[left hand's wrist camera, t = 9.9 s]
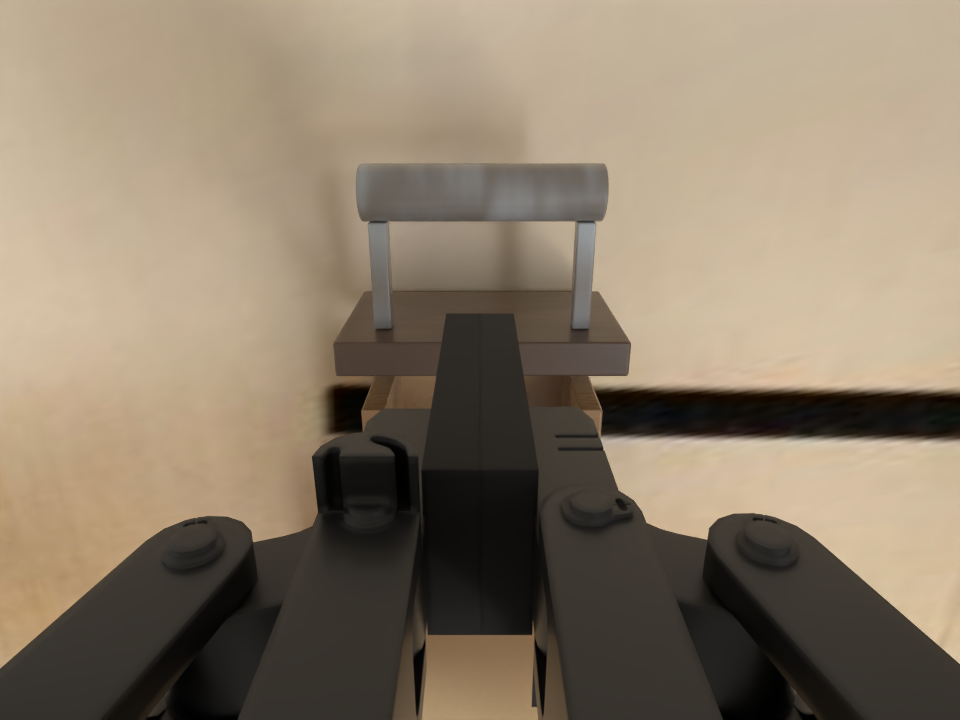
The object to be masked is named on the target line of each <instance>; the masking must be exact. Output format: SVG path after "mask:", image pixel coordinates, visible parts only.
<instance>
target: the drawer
mask: <svg viewBox="0 0 960 720" xmlns="http://www.w3.org/2000/svg"><path fill="white" fill-rule="evenodd" d="M356 198H357V207H358V212H359V216H360V218H361V220H362V221H370V222H369V223H368V231H369V247H370V262H371V278H372V292H364V294H363V295H362V297H361V299H360V300H359V302H358V304H357V305H356V307H355V309H354V310H353V312H352V314H351V315H350V317H349V318H348V320H347V322H346V323H345V325H344V327H343V328H342V330H341V332H340V333H339V335H338V337H337V338H336V340H335V342H334V344H333V347H334V358H335V369H336V375H337V376H375V377H374V379H373V382H372V385H371V387H370V390H369V393H368V395H367V398H366V400H365V403H364V406H363V408H362V411H361V412H362V425H363V431H364V428H365V426H366V423H367V421H368V420H370V419H371V418H372V417H373V416H375V415H376V414H377V413H378V412H379V411H381V410H382V409H431V406H432V400H433V393H434V387H435V381H436V374H437V368H438V362H439V356H440V349H441V343H442V337H443V331H444V324H445V318H446V313H514V318H515V324H516V331H517V337H518V343H519V349H520V356H521V362H522V368H523V374H524V381H525V387H526V393H527V400H528V406H529V407H578V408H580V409H581V410H582V411H583V412H584V413H586V414H587V415H588V416H589V417H591V418H592V419H593V420H594V423H595V426H596V429H597V431H598V434H599V438H600V437H601V424H602V412H603V411H602V409H601V406H600V404H599V401H598V399H597V396H596V394H595V391H594V389H593V386H592V384H591V381H590V378H589V376H627V375H628V372H629V361H630V350H631V343H630V341H629V339H628V338H627V336H626V335H625V333H624V331H623V330H622V328H621V327H620V325H619V323H618V322H617V320H616V319H615V317H614V316H613V314H612V312H611V311H610V309H609V308H608V306H607V304H606V303H605V301H604V300H603V298H602V296H601V295H600V293H599V292H592V280H593V265H594V250H595V235H596V223H595V222H594V221H602V220H603V219H604V217H605V214H606V209H607V203H608V172H607V168H606V165H605V164H359V166H358V169H357V175H356ZM388 221H576V222H575V241H574V259H573V277H572V292H392V276H391V257H390V238H389V222H388Z"/></svg>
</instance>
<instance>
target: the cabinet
mask: <svg viewBox="0 0 960 720" xmlns="http://www.w3.org/2000/svg"><path fill="white" fill-rule="evenodd" d="M426 659H427V669H426V680H425V691H424V702H423V713H422V720H538V712H537V707H532V684H533V659H534V626H533V630H532V635H428V630H427V629H426Z"/></svg>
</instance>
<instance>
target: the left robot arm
mask: <svg viewBox="0 0 960 720" xmlns="http://www.w3.org/2000/svg"><path fill="white" fill-rule="evenodd" d="M312 461H313V470H314V479H315V488H316V497H317V506H318V514H317V517H316V519H315V522H314V524H313V526H312V527H310V528H307V529H305V530H303V531H301V532H297V533H294V534H290V535H287V536H283V537H278V538H273V539H268V540H263V541H259V542H254V543H253V540H252V533H251V530H250V529H249V528H248V527H247V526H246V525H245V524H244V523H243V522H241V521H238V520H235V519H232V518H229V517H218V516H206V517H198V518H193V519H189V520H185V521H183V522H180V523H178V524H175V525H173V526H170V527H168V528H165V529H163V530H162V531H160V532H159V533H157V534H156V535H154V536H153V537H151V538H150V539H148V540H147V541H146V542H144V543H143V544H142V545H141V546H140V547H139V548H138V549H136V550H135V551H134V552H133V553H132V554H131V555H130V556H128V557H127V558H126V559H125V560H124V561H123V562H122V563H120V564H119V565H118V566H117V567H116V568H115V569H114V570H112V571H111V572H110V573H109V574H108V575H107V576H106V577H104V578H103V579H102V580H101V581H100V582H99V583H98V584H97V585H95V586H94V587H93V588H92V589H91V590H90V591H89V592H87V593H86V594H85V595H84V596H83V597H82V598H81V599H79V600H78V601H77V602H76V603H75V604H74V605H73V606H71V607H70V608H69V609H68V610H67V611H66V612H65V613H63V614H62V615H61V616H60V617H59V618H58V619H57V620H55V621H54V622H53V623H52V624H51V625H50V626H49V627H47V628H46V629H45V630H44V631H43V632H42V633H41V634H39V635H38V636H37V637H36V638H35V639H34V640H33V641H31V642H30V643H29V644H28V645H27V646H26V647H25V648H23V649H22V650H21V651H20V652H19V653H18V654H17V655H15V656H14V657H13V658H12V659H11V660H10V661H9V662H7V663H6V664H5V665H4V666H3V667H2V668H1V669H0V720H422V713H423V702H424V691H425V680H426V669H427V659H426V629H427V630H428V635H532V630H533V626H534V659H533V684H532V707H537V712H538V720H960V664H959V663H958V662H957V661H956V660H954V659H953V658H952V657H951V656H950V655H949V654H948V653H946V652H945V651H944V650H943V649H942V648H941V647H939V646H938V645H937V644H936V643H935V642H934V641H933V640H931V639H930V638H929V637H928V636H927V635H926V634H924V633H923V632H922V631H921V630H920V629H919V628H918V627H916V626H915V625H914V624H913V623H912V622H911V621H910V620H908V619H907V618H906V617H905V616H904V615H903V614H901V613H900V612H899V611H898V610H897V609H896V608H895V607H893V606H892V605H891V604H890V603H889V602H888V601H886V600H885V599H884V598H883V597H882V596H881V595H880V594H878V593H877V592H876V591H875V590H874V589H873V588H872V587H870V586H869V585H868V584H867V583H866V582H865V581H863V580H862V579H861V578H860V577H859V576H858V575H857V574H855V573H854V572H853V571H852V570H851V569H850V568H848V567H847V566H846V565H845V564H844V563H843V562H842V561H840V560H839V559H838V558H837V557H836V556H835V555H834V554H832V553H831V552H830V551H829V550H828V549H827V548H825V547H824V546H823V545H822V544H821V543H820V542H819V541H817V540H816V539H815V538H814V537H812V536H811V535H809V534H808V533H806V532H805V531H803V530H802V529H800V528H799V527H797V526H795V525H793V524H790V523H788V522H785V521H783V520H780V519H778V518H775V517H771V516H767V515H762V514H754V513H747V514H732V515H729V516H726V517H722V518H719V519H718V520H717V521H716V522H715V523H714V524H713V525H712V526H711V527H710V528H709V533H708V540H705V539H700V538H696V537H691V536H686V535H681V534H676V533H673V532H669V531H665V530H662V529H659V528H657V527H654V526H652V525H650V524H648V523H646V521H645V518H644V516H643V513H642V511H641V510H640V508H639V507H638V506H637V504H636V503H635V501H634V500H632V499H631V498H629V497H628V496H626V495H625V494H623V493H622V492H620V491H619V490H618V488H617V485H616V482H615V479H614V476H613V474H612V471H611V468H610V465H609V462H608V460H607V457H606V454H605V451H603V446H602V443H601V440H600V438H599V434H598V431H597V429H596V426H595V423H594V420H593V419H592V418H591V417H589V416H588V415H587V414H586V413H584V412H583V411H582V410H581V409H580V408H578V407H529V406H528V400H527V393H526V387H525V381H524V374H523V368H522V362H521V356H520V349H519V343H518V337H517V331H516V324H515V318H514V313H446V318H445V324H444V331H443V337H442V343H441V349H440V356H439V362H438V368H437V374H436V381H435V387H434V393H433V400H432V406H431V409H382V410H381V411H379V412H378V413H377V414H376V415H375V416H373V417H372V418H371V419H370V420H368V421H367V423H366V426H365V428H364V431H363V432H359V433H352V434H348V435H345V436H341V437H338V438H335V439H333V440H331V441H329V442H328V443H326V444H324V445H322V446H321V447H320V448H319V449H318V450H317V451H316V452H315V454H314V455H313V456H312Z"/></svg>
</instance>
